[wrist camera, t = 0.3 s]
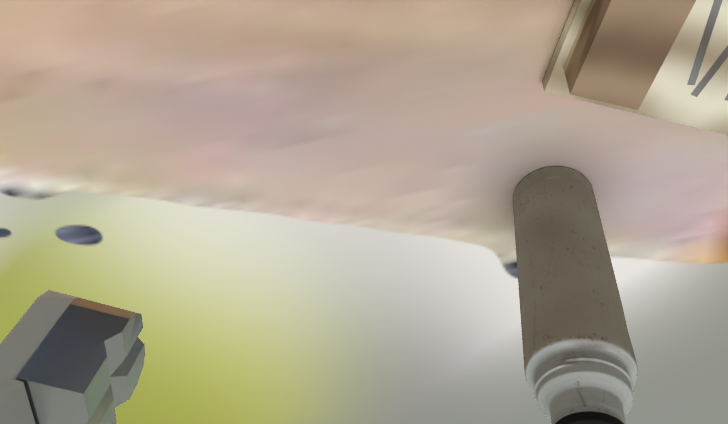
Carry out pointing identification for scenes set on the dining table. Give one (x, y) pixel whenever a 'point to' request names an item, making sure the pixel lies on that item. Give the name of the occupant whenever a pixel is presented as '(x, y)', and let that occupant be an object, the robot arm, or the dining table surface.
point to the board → (670, 69)
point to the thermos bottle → (570, 302)
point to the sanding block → (623, 48)
